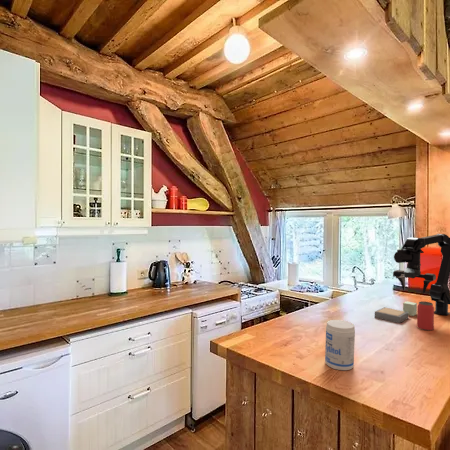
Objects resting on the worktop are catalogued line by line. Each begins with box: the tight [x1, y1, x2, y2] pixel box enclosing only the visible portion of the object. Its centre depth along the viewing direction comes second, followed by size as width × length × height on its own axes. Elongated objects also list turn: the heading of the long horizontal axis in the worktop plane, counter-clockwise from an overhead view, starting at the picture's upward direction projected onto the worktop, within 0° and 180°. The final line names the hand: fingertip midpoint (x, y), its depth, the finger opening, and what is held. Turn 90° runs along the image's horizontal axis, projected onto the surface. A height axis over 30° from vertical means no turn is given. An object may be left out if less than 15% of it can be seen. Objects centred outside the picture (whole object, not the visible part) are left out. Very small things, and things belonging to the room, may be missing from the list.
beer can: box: [416, 301, 435, 331], centre depth 152 cm, size 7×7×12 cm
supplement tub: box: [324, 319, 356, 371], centre depth 114 cm, size 10×10×15 cm
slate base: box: [374, 307, 409, 324], centre depth 168 cm, size 12×12×3 cm
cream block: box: [402, 300, 418, 317], centre depth 175 cm, size 5×5×6 cm
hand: (413, 291), depth 170 cm, fingers open, 9 cm apart
